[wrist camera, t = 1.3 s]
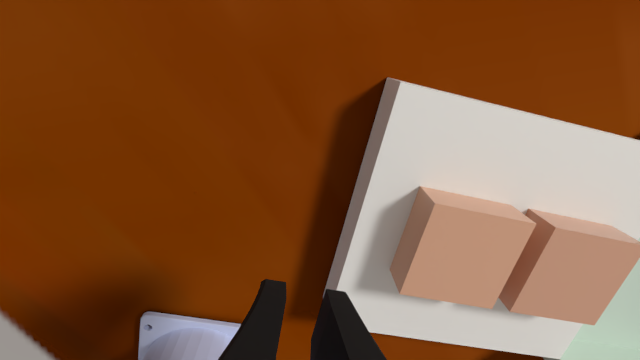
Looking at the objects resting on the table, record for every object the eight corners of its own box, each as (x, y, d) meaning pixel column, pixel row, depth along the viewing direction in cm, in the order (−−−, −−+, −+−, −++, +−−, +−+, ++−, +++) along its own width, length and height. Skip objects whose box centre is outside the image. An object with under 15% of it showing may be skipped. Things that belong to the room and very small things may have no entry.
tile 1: (566, 299, 20) (594, 325, 18) (489, 286, 19) (509, 311, 17) (611, 225, 18) (647, 246, 16) (528, 208, 17) (555, 227, 15)
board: (534, 328, 24) (559, 359, 21) (322, 296, 22) (325, 325, 19) (645, 141, 19) (693, 154, 17) (386, 77, 17) (400, 81, 15)
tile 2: (473, 283, 19) (492, 309, 17) (389, 269, 18) (399, 294, 16) (510, 204, 17) (536, 223, 15) (419, 185, 16) (435, 203, 15)
